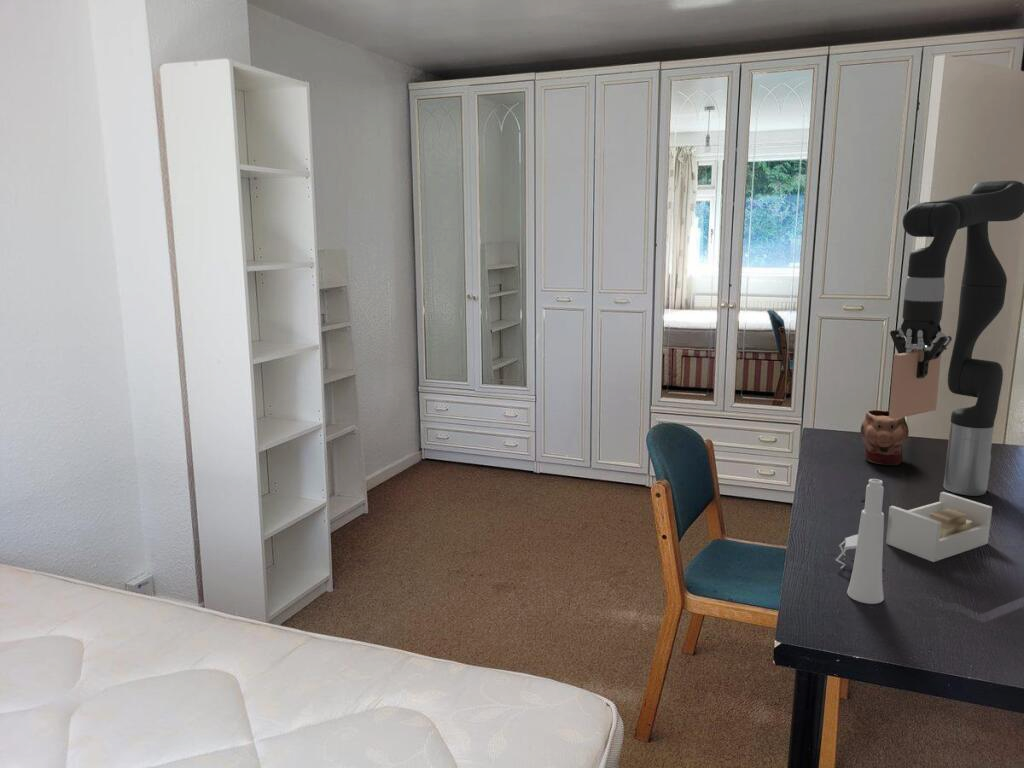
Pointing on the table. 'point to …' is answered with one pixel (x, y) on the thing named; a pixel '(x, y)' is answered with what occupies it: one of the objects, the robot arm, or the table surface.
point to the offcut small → (949, 518)
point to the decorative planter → (883, 437)
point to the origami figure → (847, 546)
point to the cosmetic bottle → (869, 549)
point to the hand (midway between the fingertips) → (915, 376)
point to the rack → (937, 528)
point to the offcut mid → (956, 529)
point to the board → (913, 386)
